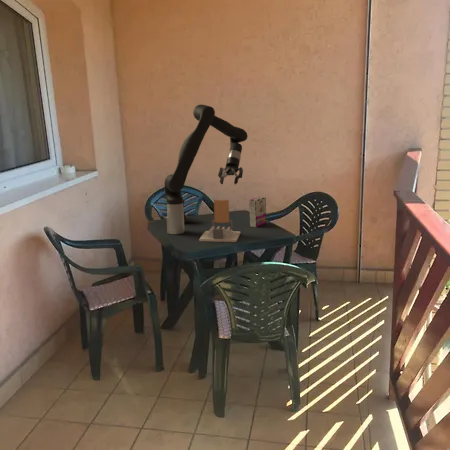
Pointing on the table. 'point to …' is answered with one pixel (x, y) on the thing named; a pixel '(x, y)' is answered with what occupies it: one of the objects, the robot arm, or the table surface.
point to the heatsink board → (225, 235)
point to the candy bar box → (257, 211)
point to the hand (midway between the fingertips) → (228, 183)
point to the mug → (184, 214)
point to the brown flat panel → (221, 211)
